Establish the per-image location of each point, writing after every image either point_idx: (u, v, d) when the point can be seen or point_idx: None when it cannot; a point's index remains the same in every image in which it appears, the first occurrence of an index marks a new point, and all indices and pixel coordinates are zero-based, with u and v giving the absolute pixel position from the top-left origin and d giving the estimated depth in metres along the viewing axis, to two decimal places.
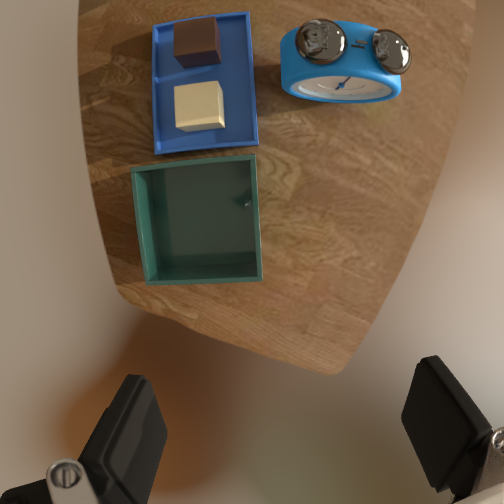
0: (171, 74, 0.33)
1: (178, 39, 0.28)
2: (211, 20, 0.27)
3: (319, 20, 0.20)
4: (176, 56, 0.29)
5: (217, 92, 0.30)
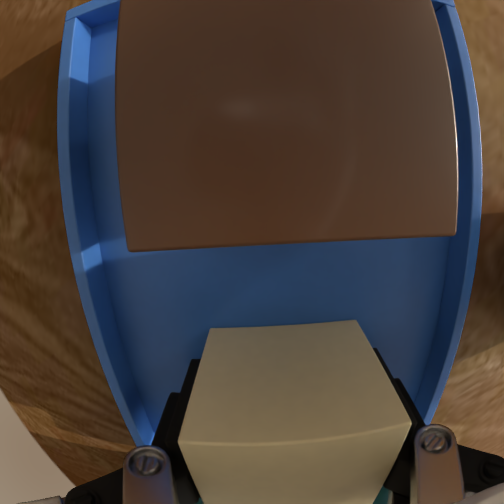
0: None
1: (156, 90, 0.03)
2: None
3: None
4: None
5: (393, 459, 0.05)
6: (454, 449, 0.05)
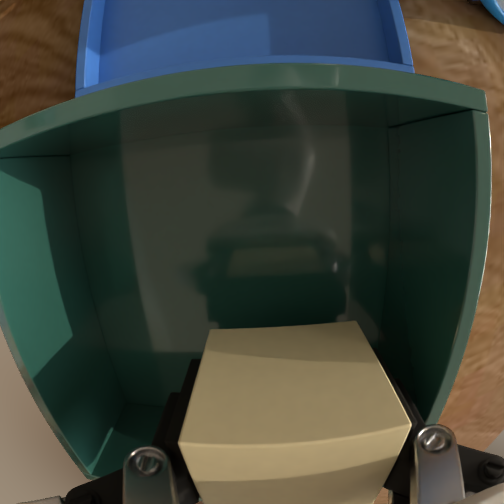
0: None
1: None
2: None
3: None
4: None
5: (393, 460, 0.05)
6: (454, 449, 0.05)
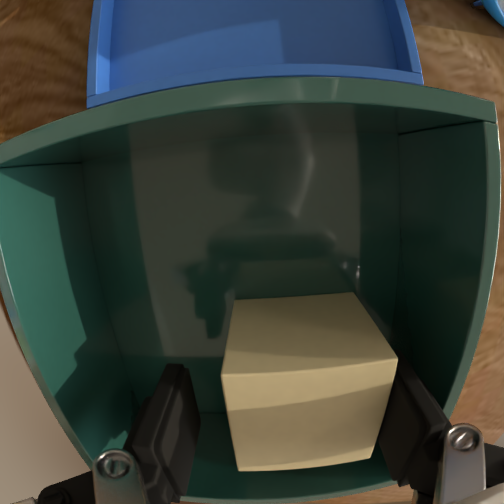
0: None
1: None
2: None
3: None
4: None
5: (387, 395, 0.08)
6: (481, 449, 0.05)
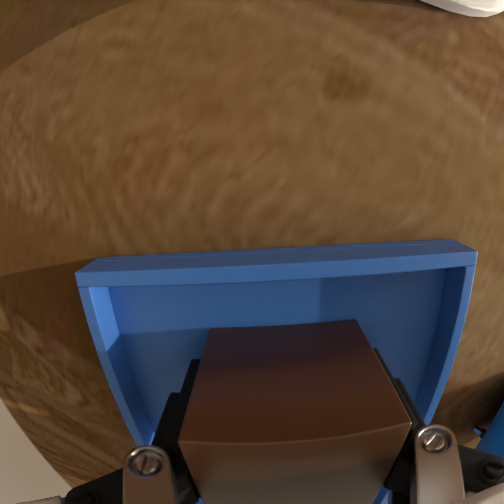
0: None
1: (225, 499, 0.06)
2: (388, 446, 0.05)
3: None
4: None
5: None
6: (454, 449, 0.05)
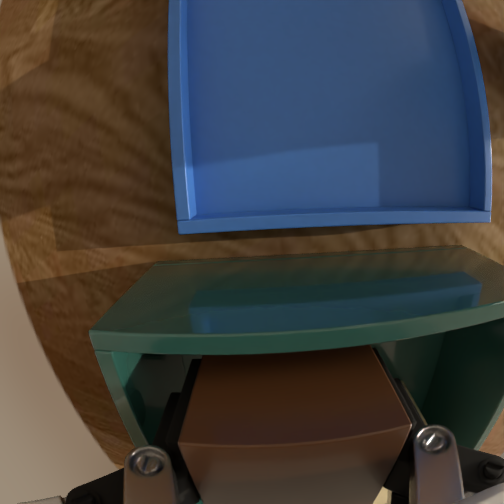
0: None
1: (225, 501, 0.06)
2: (388, 448, 0.05)
3: None
4: None
5: None
6: (454, 449, 0.05)
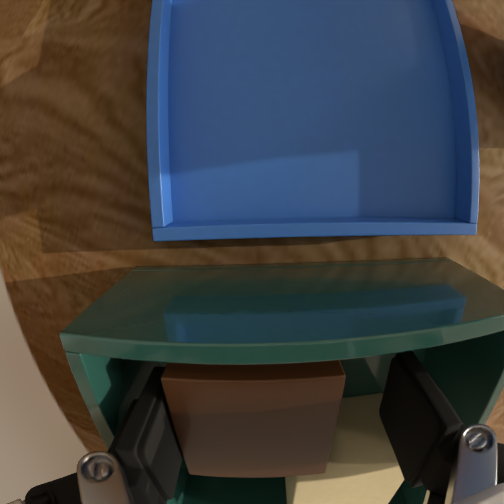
0: None
1: (197, 442, 0.08)
2: (328, 396, 0.07)
3: None
4: None
5: (402, 479, 0.09)
6: (494, 451, 0.04)
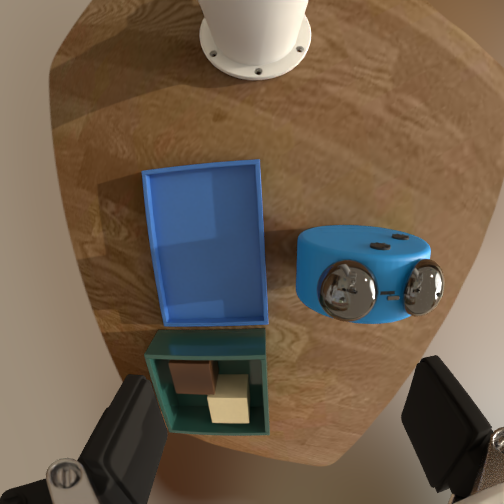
0: (171, 238, 0.34)
1: (177, 380, 0.34)
2: (206, 368, 0.33)
3: (351, 276, 0.20)
4: None
5: (246, 405, 0.35)
6: None
